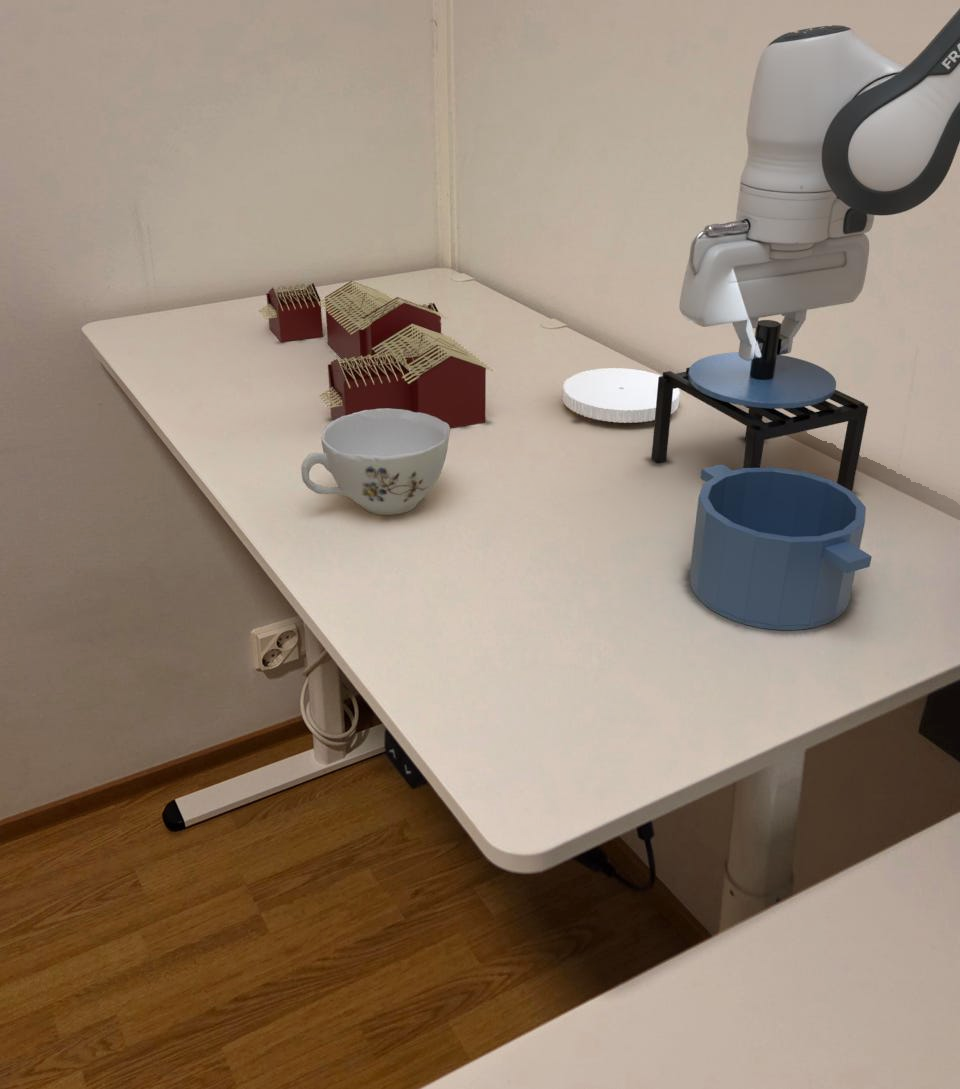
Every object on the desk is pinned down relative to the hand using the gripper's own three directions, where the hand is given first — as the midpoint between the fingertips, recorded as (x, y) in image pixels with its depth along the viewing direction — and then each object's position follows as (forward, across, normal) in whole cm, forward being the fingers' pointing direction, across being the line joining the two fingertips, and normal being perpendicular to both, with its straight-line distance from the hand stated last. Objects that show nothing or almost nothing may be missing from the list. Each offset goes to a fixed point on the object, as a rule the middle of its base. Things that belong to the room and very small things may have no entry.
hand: (764, 355), depth 111 cm
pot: (+13, -13, -19) cm, 27 cm away
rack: (+13, 0, 0) cm, 13 cm away
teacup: (+14, -38, +11) cm, 42 cm away
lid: (+3, 0, 0) cm, 3 cm away
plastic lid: (+14, -2, +22) cm, 26 cm away
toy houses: (+14, -25, +48) cm, 56 cm away
